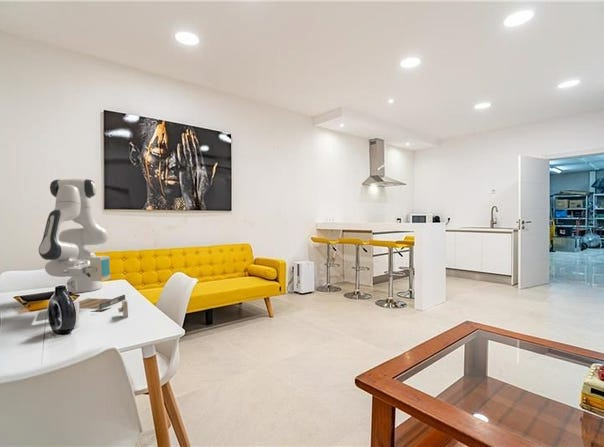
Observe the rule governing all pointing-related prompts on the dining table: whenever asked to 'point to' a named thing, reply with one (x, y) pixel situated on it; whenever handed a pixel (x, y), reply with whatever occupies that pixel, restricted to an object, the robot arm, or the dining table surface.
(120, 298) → the shelf plank
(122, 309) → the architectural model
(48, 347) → the dining table surface
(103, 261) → the carton
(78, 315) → the white cup
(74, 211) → the robot arm
